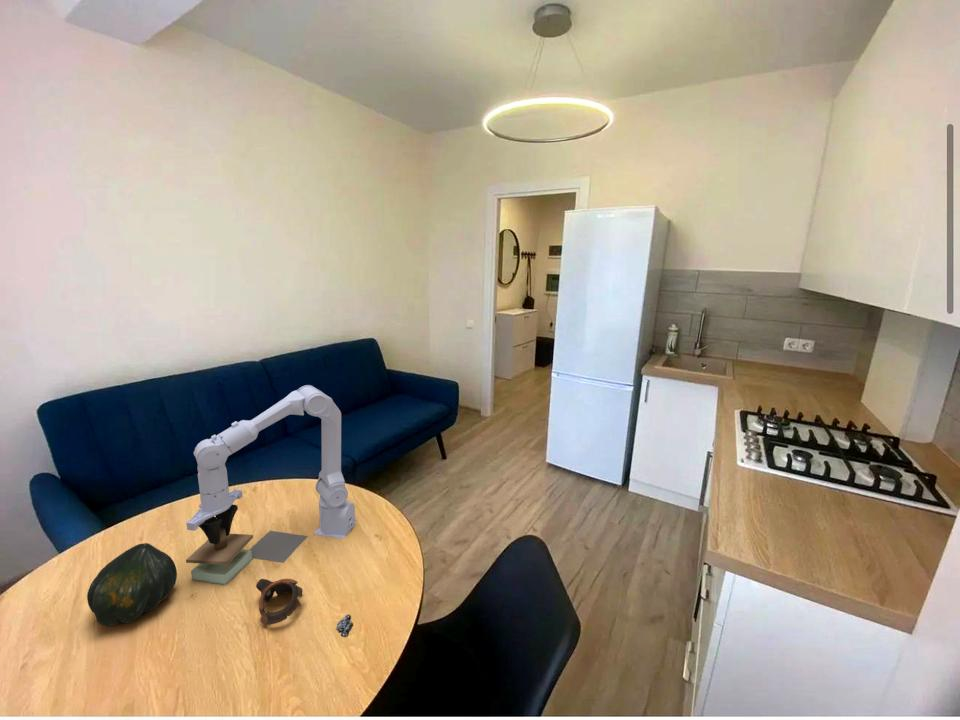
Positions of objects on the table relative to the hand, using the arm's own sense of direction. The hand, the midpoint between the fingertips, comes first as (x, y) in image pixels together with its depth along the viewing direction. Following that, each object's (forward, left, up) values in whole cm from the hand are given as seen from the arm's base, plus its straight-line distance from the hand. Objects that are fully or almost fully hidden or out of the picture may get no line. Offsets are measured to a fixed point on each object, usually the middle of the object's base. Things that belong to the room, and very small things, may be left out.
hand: (219, 538), depth 97 cm
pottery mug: (-21, +7, -9) cm, 24 cm away
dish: (0, 0, -9) cm, 9 cm away
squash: (+10, +13, -9) cm, 19 cm away
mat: (-7, -11, -9) cm, 16 cm away
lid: (0, 0, -3) cm, 3 cm away
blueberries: (-38, +9, -10) cm, 40 cm away
